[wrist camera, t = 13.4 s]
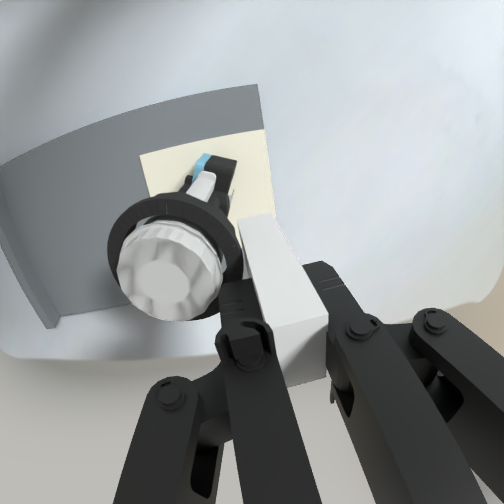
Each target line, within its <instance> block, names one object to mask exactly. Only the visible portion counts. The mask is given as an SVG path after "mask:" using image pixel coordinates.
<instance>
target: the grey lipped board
mask: <svg viewBox="0 0 504 504" xmlns="http://www.w3.org/2000/svg"><path fill="white" fill-rule="evenodd" d="M203 153H206V154H210V155H215V156H220V157H224V158H228V159H233V160H237V165H236V169H235V173H234V176H233V179H232V182H231V185H230V189H229V192H228V195H229V196H232V193H233V189H234V190H235V191H234V195H233V199H232V203H231V206H230V210H229V214H228V217H227V218H228V220H229V221H230V222H231V224H232V225H233V226H234V228H235V233H236V237H237V239H238V242H239V244H240V246H241V250H242V254H243V249H242V244H241V239H240V234H239V229H238V224H237V219H241V218H246V217H251V216H256V215H261V214H266V213H272V215H273V216H274V218H275V220H276V212H275V204H274V196H273V188H272V180H271V173H270V165H269V158H268V151H267V144H266V137H265V130H264V125H263V118H262V111H261V105H260V98H259V92H258V85H257V84H254V85H246V86H239V87H232V88H226V89H220V90H215V91H209V92H204V93H199V94H194V95H189V96H185V97H181V98H176V99H172V100H168V101H164V102H160V103H156V104H153V105H149V106H145V107H142V108H139V109H135V110H132V111H129V112H125V113H122V114H119V115H116V116H113V117H110V118H107V119H104V120H102V121H99V122H96V123H93V124H91V125H88V126H85V127H83V128H80V129H78V130H75V131H73V132H70V133H68V134H66V135H63V136H61V137H59V138H56V139H54V140H52V141H50V142H47V143H45V144H43V145H41V146H39V147H37V148H35V149H33V150H31V151H29V152H27V153H25V154H23V155H21V156H19V157H17V158H15V159H13V160H11V161H10V162H8V163H6V164H4V165H2V166H1V167H0V245H1V247H2V249H3V252H4V254H5V256H6V258H7V260H8V262H9V264H10V266H11V268H12V270H13V272H14V274H15V276H16V278H17V280H18V282H19V284H20V285H21V287H22V289H23V291H24V293H25V294H26V296H27V298H28V300H29V301H30V303H31V305H32V306H33V308H34V310H35V311H36V313H37V315H38V316H39V318H40V319H41V321H42V323H43V324H44V326H45V327H46V329H51V328H55V326H56V324H57V322H58V320H59V318H60V316H64V315H71V314H77V313H83V312H89V311H95V310H100V309H106V308H112V307H118V306H123V305H129V304H132V302H131V301H130V300H129V298H128V297H127V296H126V295H125V294H124V292H123V291H122V289H121V288H120V286H119V285H118V283H117V282H116V280H115V278H114V276H113V274H112V272H111V269H110V266H109V262H108V256H107V242H108V237H109V234H110V231H111V229H112V227H113V225H114V223H115V222H116V220H117V219H118V218H119V217H120V215H121V214H122V213H123V212H124V211H126V210H127V209H128V208H129V207H130V206H132V205H133V204H135V203H137V202H139V201H141V200H143V199H146V198H149V197H154V196H155V195H157V194H159V193H168V192H178V191H179V190H180V188H181V187H182V186H183V185H184V181H185V177H186V176H187V175H191V176H193V173H194V168H195V164H196V161H197V160H198V159H199V158H200V157H201V156H202V155H203ZM148 219H149V217H148V218H145V219H143V220H141V221H139V222H138V223H137V225H136V228H138V227H140V226H143V225H144V223H145V222H146V221H147V220H148ZM276 222H277V220H276ZM243 259H244V254H243ZM226 268H227V265H226V260H225V257H224V255H223V259H222V263H221V270H222V274H223V272H224V271H225V270H226ZM248 278H249V277H248V274H247V269H246V264H245V259H244V271H243V279H248ZM243 279H242V280H243Z"/></svg>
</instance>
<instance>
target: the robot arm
mask: <svg viewBox="0 0 504 504" xmlns="http://www.w3.org/2000/svg"><path fill="white" fill-rule="evenodd" d="M237 224H238V229H239V234H240V239H241V244H242V249H243V254H244V259H245V264H246V269H247V274H248V277H249V278H248V279H243V280H239V281H234V282H230V283H225V284H223V285H222V287H221V289H220V291H219V293H218V298H219V306H220V307H219V308H220V315H221V316H220V317H221V326H222V328H221V329H220V331H219V332H218V333H217V335H216V339H215V346H216V349H217V352H218V354H219V357H220V359H221V362H220V364H219V365H218V366H217V367H216V368H215V369H214V370H213V371H211V372H210V373H208V374H206V375H204V376H203V377H200V378H198V379H196V380H194V381H190V380H189V379H187V378H184V377H179V376H174V377H167V378H165V379H162V380H160V381H158V382H157V383H156V384H155V385H154V386H152V388H151V389H150V391H149V393H148V394H147V397H146V400H145V402H144V405H143V408H142V411H141V414H140V417H139V420H138V423H137V426H136V429H135V432H134V435H133V438H132V441H131V444H130V448H129V451H128V454H127V457H126V460H125V464H124V467H123V470H122V474H121V477H120V480H119V484H118V487H117V491H116V494H115V498H114V502H113V504H215V502H216V495H217V489H218V482H219V476H220V469H221V462H222V455H223V449H224V443H225V442H227V441H230V440H232V439H233V443H234V449H235V456H236V462H237V469H238V475H239V481H240V486H241V492H242V498H243V503H244V504H322V502H321V499H320V495H319V492H318V489H317V486H316V482H315V479H314V476H313V473H312V469H311V466H310V463H309V459H308V456H307V453H306V450H305V446H304V443H303V440H302V437H301V434H300V430H299V427H298V424H297V420H296V417H295V413H294V410H293V407H292V403H291V400H290V397H289V394H288V390H287V388H288V387H292V386H296V385H300V384H303V383H307V382H310V381H314V380H317V379H321V378H324V377H326V370H328V372H329V374H330V377H331V379H332V381H331V392H330V402H331V404H332V403H334V400H336V403H337V405H338V408H339V410H340V413H341V415H342V418H343V420H344V423H345V425H346V428H347V430H348V432H349V435H350V438H351V440H352V443H353V445H354V448H355V450H356V453H357V455H358V458H359V461H360V463H361V466H362V468H363V471H364V474H365V476H366V479H367V481H368V484H369V487H370V489H371V492H372V494H373V497H374V500H375V502H376V504H487V502H486V500H485V498H484V495H483V493H482V491H481V489H480V487H479V485H478V483H477V481H476V479H475V477H474V475H473V473H472V471H471V469H472V470H473V471H474V472H475V473H476V474H477V475H478V476H479V477H480V478H481V480H482V481H483V482H484V483H485V484H486V485H487V486H488V487H489V488H490V489H491V490H492V491H493V492H494V494H495V495H496V496H497V497H498V498H499V499H500V500H501V501H502V502H503V503H504V357H503V356H501V355H500V354H499V353H498V352H497V351H495V350H494V349H493V348H492V347H491V346H489V345H488V344H487V343H485V342H484V341H483V340H482V339H481V338H479V337H478V336H477V335H476V334H474V333H473V332H472V331H471V330H469V329H468V328H467V327H466V326H464V325H463V324H462V323H460V322H459V321H458V320H456V319H455V318H453V316H451V315H450V314H449V313H447V312H445V311H443V310H441V309H436V308H426V309H423V310H421V311H419V312H418V313H417V314H416V315H415V316H414V318H413V322H412V323H407V324H383V323H382V322H381V321H380V320H379V319H378V318H377V317H375V316H372V315H370V314H366V313H364V312H363V310H362V309H361V307H360V306H359V304H358V303H357V301H356V300H355V298H354V297H353V296H352V294H351V293H350V291H349V290H348V288H347V287H346V285H344V282H343V281H342V280H341V278H339V275H338V274H337V272H336V271H335V270H334V268H333V267H332V266H330V265H328V264H327V263H325V262H323V261H318V262H314V263H310V264H305V265H301V263H300V262H299V260H298V258H297V256H296V254H295V253H294V251H293V249H292V247H291V246H290V244H289V242H288V240H287V239H286V237H285V235H284V234H283V232H282V230H281V228H280V227H279V225H278V223H277V222H276V220H275V218H274V216H273V215H272V213H266V214H261V215H256V216H251V217H246V218H241V219H237ZM470 468H471V469H470Z"/></svg>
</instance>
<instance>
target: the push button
mask: <svg viewBox="0 0 504 504" xmlns="http://www.w3.org/2000/svg"><path fill="white" fill-rule="evenodd" d="M236 165H237V160H233V159H228V158H224V157H220V156H215V155H210V154H206V153H203V155H202V156H201V157H200V158H199V159H198V160H197V161H196V164H195V168H194V173H193V176H191V175H187V176H186V177H185V181H184V185H183V186H182V187H181V188H180V190H179V191H178V192H168V193H159V194H157V195H155V196H154V197H149V198H146V199H143V200H141V201H139V202H137V203H135V204H133V205H132V206H130V207H129V208H128V209H127V210H126V211H124V212H123V213H122V214H121V215H120V217H119V218H118V219H117V220H116V222H115V223H114V225H113V227H112V229H111V231H110V234H109V237H108V242H107V256H108V262H109V266H110V269H111V272H112V274H113V276H114V278H115V280H116V282H117V283H118V285H119V286H120V288H121V289H122V291H123V292H124V294H125V295H126V296H127V297H128V298H129V300H130V301H131V302H132V304H133V305H135V306H136V307H137V308H138V309H140V310H142V311H144V312H145V313H147V314H148V315H150V316H152V317H156V318H158V319H160V320H167V321H170V322H171V321H192V320H199V319H204V318H207V317H210V316H213V315H215V314H217V313H219V312H220V308H219V307H220V306H219V298H218V293H219V291H220V289H221V287H222V285H223V284H225V283H230V282H234V281H239V280H242V279H243V271H244V259H243V254H242V250H241V246H240V244H239V242H238V239H237V237H236V233H235V228H234V226H233V225H232V224H231V222H230V221H229V220H228V218H227V217H228V214H229V210H230V206H231V203H232V199H233V195H234V191H235V190H234V189H233V193H232V196H229V195H228V192H229V189H230V185H231V182H232V179H233V176H234V173H235V169H236ZM148 217H149V219H148V220H147V221H146V222H145V223H144V225H143V226H140V227H138V228H136V225H137V223H138V222H139V221H141V220H143V219H145V218H148ZM223 255H224V257H225V260H226V265H227V268H226V270H225V271H224V272H223V274H222V270H221V263H222V259H223Z"/></svg>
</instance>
